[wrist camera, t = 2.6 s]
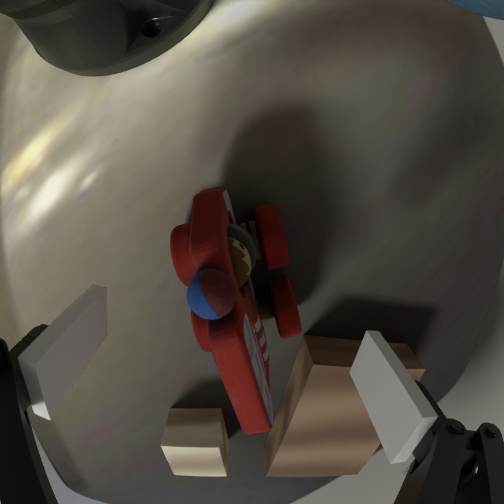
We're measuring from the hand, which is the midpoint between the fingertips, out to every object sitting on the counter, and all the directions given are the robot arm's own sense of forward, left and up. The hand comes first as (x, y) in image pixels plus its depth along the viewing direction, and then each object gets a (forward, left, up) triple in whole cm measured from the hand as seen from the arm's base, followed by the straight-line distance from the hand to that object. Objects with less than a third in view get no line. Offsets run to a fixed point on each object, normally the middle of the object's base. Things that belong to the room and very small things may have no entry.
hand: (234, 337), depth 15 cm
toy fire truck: (0, 0, -9) cm, 9 cm away
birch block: (+17, -1, -8) cm, 19 cm away
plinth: (+12, +11, -8) cm, 18 cm away
